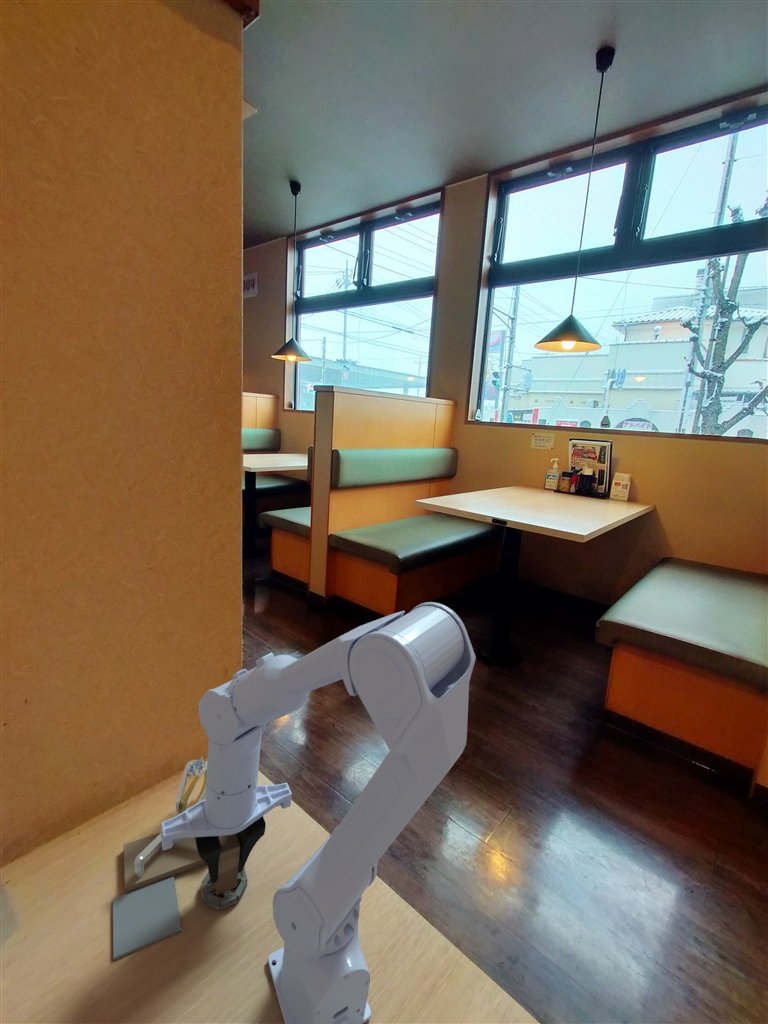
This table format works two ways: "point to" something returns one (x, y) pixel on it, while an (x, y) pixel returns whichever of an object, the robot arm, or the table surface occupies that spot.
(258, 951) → the table surface
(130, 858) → the base
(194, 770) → the ring
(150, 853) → the bent wire
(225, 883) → the ring wand
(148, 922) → the mat
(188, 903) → the table surface
